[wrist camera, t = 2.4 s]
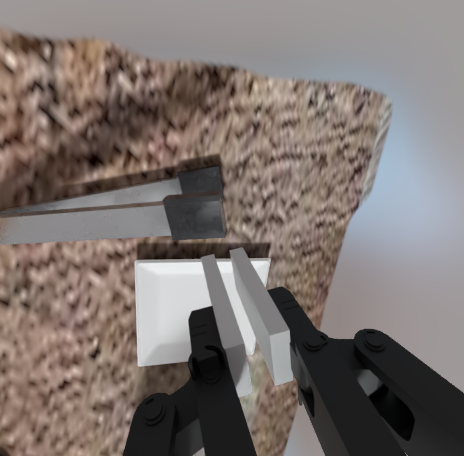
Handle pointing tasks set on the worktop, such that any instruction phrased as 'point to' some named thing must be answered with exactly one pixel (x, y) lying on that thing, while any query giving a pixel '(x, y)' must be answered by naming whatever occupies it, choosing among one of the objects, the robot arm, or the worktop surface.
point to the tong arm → (121, 221)
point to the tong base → (136, 192)
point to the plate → (181, 305)
